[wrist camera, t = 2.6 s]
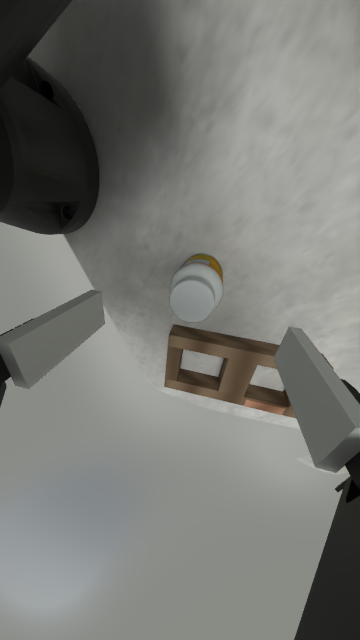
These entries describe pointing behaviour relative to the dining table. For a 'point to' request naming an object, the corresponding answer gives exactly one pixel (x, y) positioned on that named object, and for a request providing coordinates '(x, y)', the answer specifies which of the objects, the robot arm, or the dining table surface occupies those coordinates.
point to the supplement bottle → (196, 288)
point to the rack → (225, 369)
